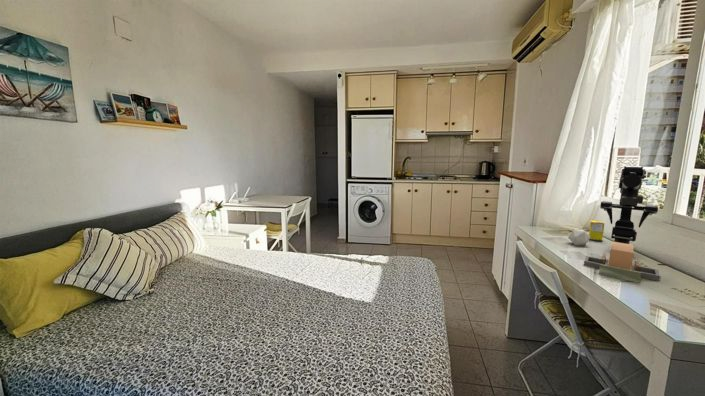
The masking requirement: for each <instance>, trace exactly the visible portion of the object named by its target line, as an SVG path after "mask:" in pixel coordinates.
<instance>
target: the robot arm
mask: <svg viewBox="0 0 705 396" xmlns="http://www.w3.org/2000/svg"><path fill="white" fill-rule="evenodd" d="M646 178H647V170H646V169H645V168H644V166H642V165H641V166H640V165H624V166H623V167H622V168H621V173H620V177H619V182H618V189H619V193H620V197H619V204H617V203H616V204H615V203H613V201H606V200H605V201H604V200H602V201H601V202H600V207H599V208H600V209H602V210H603V211H605V212H606V214H607V216H608V218H609V222H610V224H611V225H613V209H621V210H620V216H619V219H617V220H616V221H615V222H614V226H612V230H611V237H610V239H614V240H613V242H619V243H625V244H631V243H630V242H636V239H637V234H638V232H637V231H636V229H634V228H635V223H634V222H633V221H632V220H631V219H632V211H634V210H635V211H641V212H642V214H641V217H640V220H639V223H638V228H639V229H640V228H641V226H642V225H643V223H644V222H645V220H646V219H647V218H648V216H652V215H653V214H654V215H656V214H657V213H658V211H659V206H657V205H653V204H652V205H651V204H650V205H649V204H645V205H644V206H639V205H638V204H643V202H644V195H639V192H640V190H641V189H642V185H643V184H642V183H643V180H645V179H646Z"/></svg>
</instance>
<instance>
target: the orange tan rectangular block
mask: <svg viewBox="0 0 705 396" xmlns="http://www.w3.org/2000/svg"><path fill="white" fill-rule="evenodd" d="M609 250H610V251H609V257H608V266H613V267H618V268H623V269H628V270H632V264H633V258H634V244H631V243H629V244H625V243H619V242H614V241H612V242H611V246H610V249H609Z"/></svg>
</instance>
